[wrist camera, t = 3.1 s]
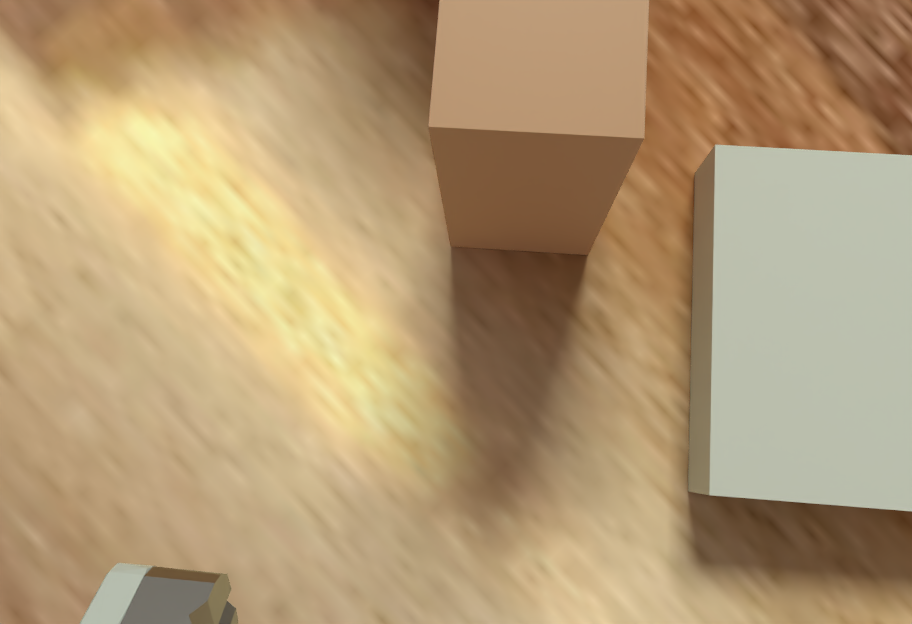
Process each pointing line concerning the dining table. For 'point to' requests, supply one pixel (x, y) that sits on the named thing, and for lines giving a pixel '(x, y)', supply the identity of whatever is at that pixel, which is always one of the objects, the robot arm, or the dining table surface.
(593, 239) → the tan block
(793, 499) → the ceramic slab
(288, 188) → the dining table surface
